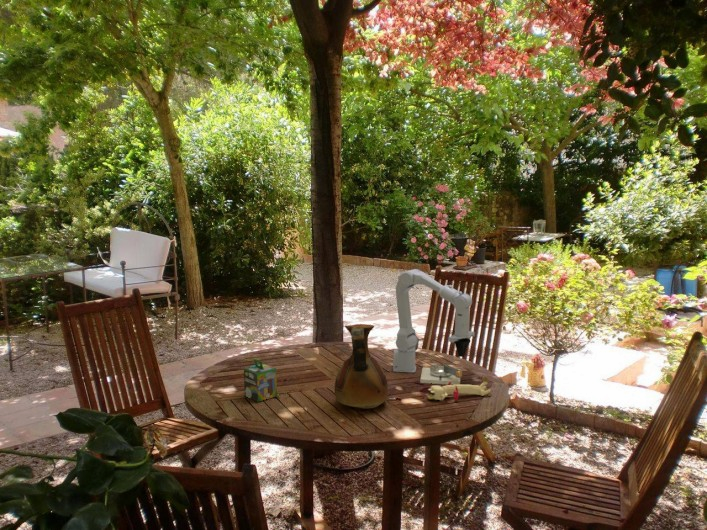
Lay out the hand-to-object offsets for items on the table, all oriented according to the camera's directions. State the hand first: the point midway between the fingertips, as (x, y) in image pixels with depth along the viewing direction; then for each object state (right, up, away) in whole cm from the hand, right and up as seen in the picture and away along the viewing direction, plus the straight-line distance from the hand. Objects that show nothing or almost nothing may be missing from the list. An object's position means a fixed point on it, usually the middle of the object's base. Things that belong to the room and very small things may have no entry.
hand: (461, 356), depth 248 cm
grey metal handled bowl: (-6, -8, +1) cm, 10 cm away
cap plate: (-8, -10, +5) cm, 13 cm away
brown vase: (-41, -14, -25) cm, 51 cm away
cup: (-17, -5, +39) cm, 43 cm away
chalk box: (-80, -13, -18) cm, 83 cm away
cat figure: (-4, -13, -17) cm, 22 cm away
